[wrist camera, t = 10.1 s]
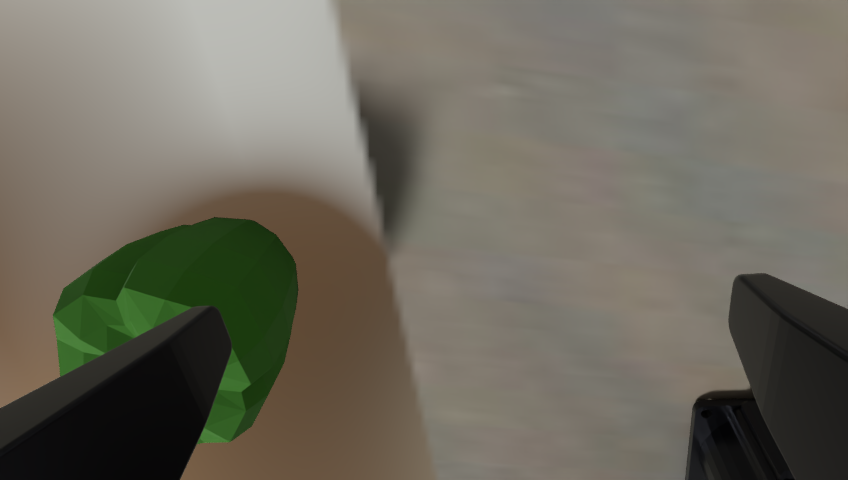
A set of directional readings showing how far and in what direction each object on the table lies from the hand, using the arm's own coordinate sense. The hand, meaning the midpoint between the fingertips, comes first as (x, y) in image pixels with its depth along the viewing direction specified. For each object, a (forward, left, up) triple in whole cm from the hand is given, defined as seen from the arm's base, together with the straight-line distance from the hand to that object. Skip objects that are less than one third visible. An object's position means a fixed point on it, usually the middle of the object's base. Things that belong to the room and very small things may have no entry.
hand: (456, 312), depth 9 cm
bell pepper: (-6, +12, -13) cm, 19 cm away
